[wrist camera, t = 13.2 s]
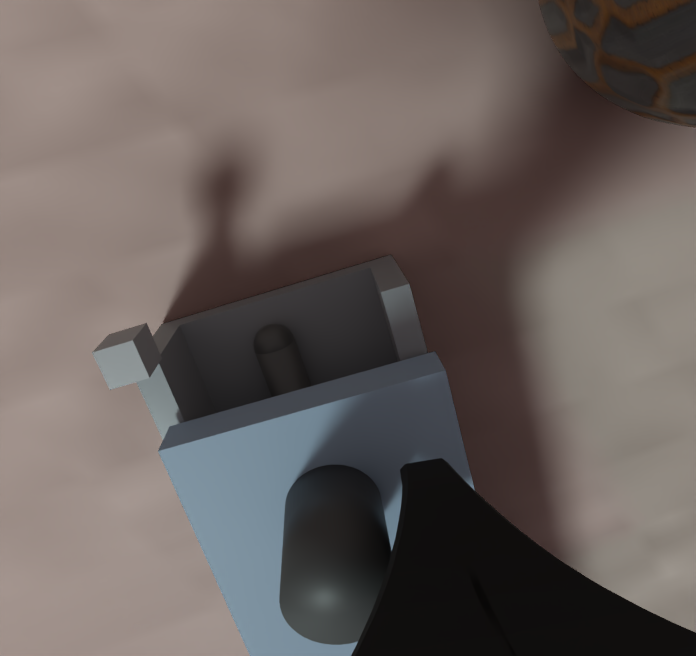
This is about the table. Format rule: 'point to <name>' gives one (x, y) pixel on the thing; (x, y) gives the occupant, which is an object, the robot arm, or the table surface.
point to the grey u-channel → (268, 343)
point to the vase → (631, 52)
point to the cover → (311, 498)
